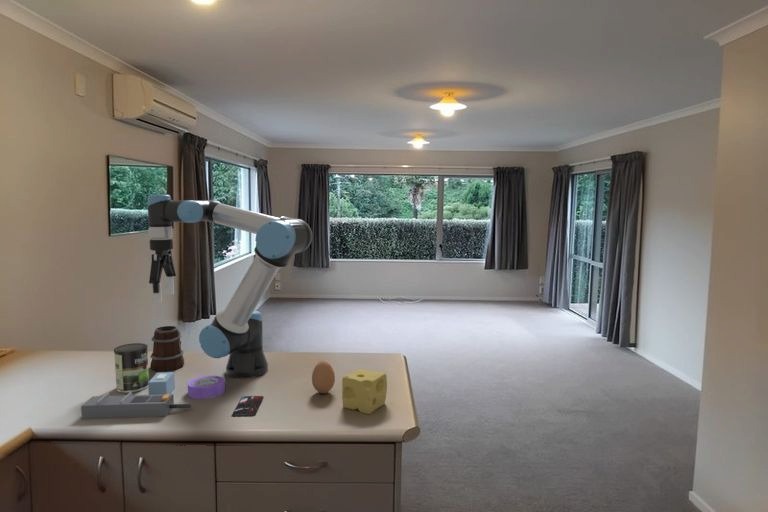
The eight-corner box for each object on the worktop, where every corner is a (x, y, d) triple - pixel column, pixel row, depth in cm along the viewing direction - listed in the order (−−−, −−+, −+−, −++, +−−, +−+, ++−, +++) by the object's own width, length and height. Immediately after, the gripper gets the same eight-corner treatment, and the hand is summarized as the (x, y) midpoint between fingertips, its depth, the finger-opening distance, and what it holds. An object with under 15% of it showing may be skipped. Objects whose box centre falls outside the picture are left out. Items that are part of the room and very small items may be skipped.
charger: (175, 389, 174) (174, 371, 173) (166, 399, 165) (166, 380, 164) (158, 389, 173) (157, 371, 172) (149, 400, 164) (148, 381, 163)
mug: (176, 372, 190) (174, 332, 188) (144, 371, 191) (142, 332, 189) (194, 358, 205) (192, 322, 204) (165, 357, 206) (163, 321, 204)
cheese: (369, 415, 153) (369, 383, 152) (340, 407, 159) (340, 376, 158) (387, 403, 162) (387, 373, 161) (359, 396, 168) (359, 366, 167)
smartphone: (230, 416, 152) (242, 395, 167) (230, 418, 152) (242, 397, 167) (255, 415, 152) (264, 395, 167) (255, 417, 152) (264, 397, 167)
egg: (325, 386, 176) (325, 356, 174) (339, 392, 170) (339, 361, 169) (307, 392, 170) (306, 361, 169) (321, 399, 165) (321, 366, 164)
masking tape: (183, 390, 172) (183, 379, 172) (218, 383, 179) (217, 372, 179) (193, 402, 163) (193, 390, 162) (229, 393, 170) (229, 382, 169)
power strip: (193, 405, 160) (193, 390, 159) (187, 415, 153) (186, 399, 152) (93, 408, 157) (92, 393, 156) (82, 418, 150) (80, 402, 150)
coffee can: (156, 383, 179) (154, 343, 177) (136, 394, 169) (133, 352, 167) (130, 380, 181) (127, 342, 179) (109, 391, 171) (106, 350, 169)
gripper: (161, 235, 192) (164, 291, 194) (136, 242, 167) (139, 305, 170) (182, 235, 193) (184, 291, 195) (160, 241, 168) (163, 305, 171)
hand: (164, 298), depth 183 cm, fingers open, 13 cm apart
